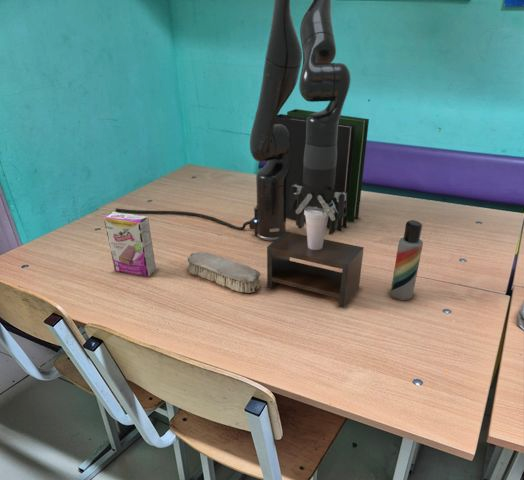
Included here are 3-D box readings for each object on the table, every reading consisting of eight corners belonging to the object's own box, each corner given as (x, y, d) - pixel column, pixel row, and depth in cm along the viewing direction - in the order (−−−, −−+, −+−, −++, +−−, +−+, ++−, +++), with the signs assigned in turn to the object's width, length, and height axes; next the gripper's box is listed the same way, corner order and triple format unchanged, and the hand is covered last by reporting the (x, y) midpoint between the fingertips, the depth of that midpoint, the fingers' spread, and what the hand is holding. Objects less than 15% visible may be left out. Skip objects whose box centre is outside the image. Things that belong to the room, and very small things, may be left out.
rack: (267, 287, 133) (266, 246, 126) (285, 270, 141) (286, 231, 133) (343, 307, 124) (348, 264, 117) (358, 288, 132) (363, 247, 125)
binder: (359, 218, 171) (370, 118, 152) (338, 232, 162) (347, 128, 142) (293, 202, 184) (295, 109, 165) (270, 215, 174) (270, 117, 155)
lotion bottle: (387, 290, 131) (399, 217, 119) (408, 288, 132) (422, 216, 120) (394, 301, 127) (406, 227, 115) (415, 299, 127) (430, 226, 115)
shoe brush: (181, 273, 140) (179, 257, 137) (199, 263, 145) (197, 247, 142) (249, 297, 129) (248, 280, 126) (265, 286, 134) (265, 269, 131)
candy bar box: (114, 272, 141) (102, 217, 131) (123, 264, 145) (112, 210, 135) (148, 278, 138) (139, 222, 128) (157, 270, 142) (148, 215, 132)
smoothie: (326, 253, 122) (330, 197, 114) (300, 251, 123) (303, 196, 115) (328, 242, 127) (332, 188, 119) (304, 240, 128) (306, 187, 120)
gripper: (355, 163, 113) (348, 230, 123) (298, 155, 118) (296, 220, 128) (343, 172, 108) (337, 241, 117) (284, 163, 113) (283, 230, 123)
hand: (316, 230), depth 123 cm, fingers open, 8 cm apart
